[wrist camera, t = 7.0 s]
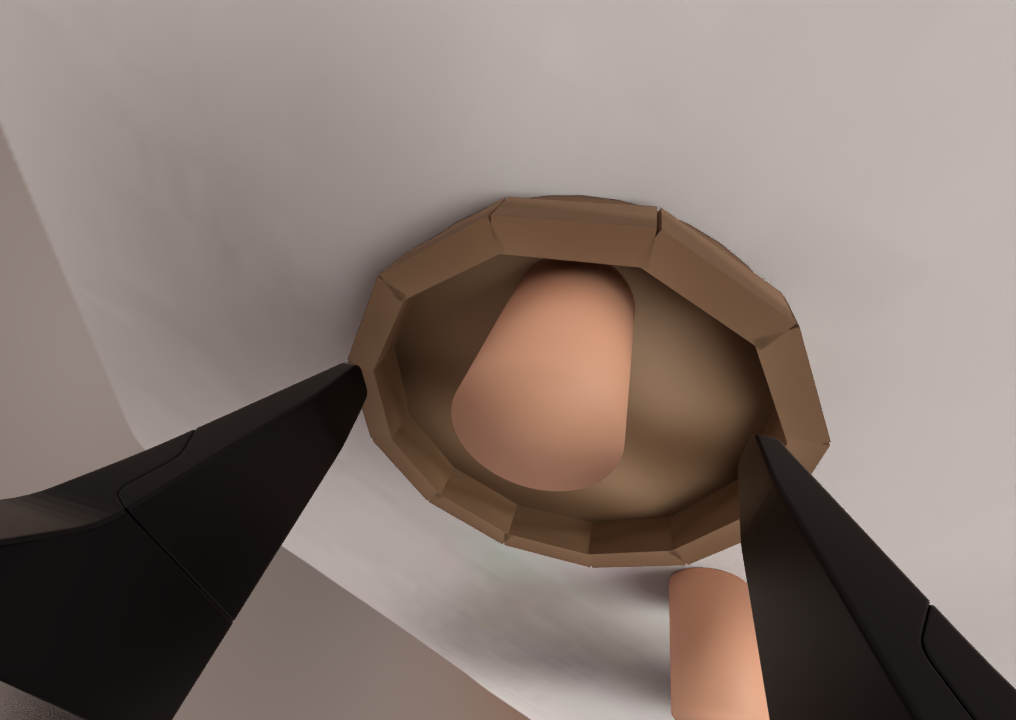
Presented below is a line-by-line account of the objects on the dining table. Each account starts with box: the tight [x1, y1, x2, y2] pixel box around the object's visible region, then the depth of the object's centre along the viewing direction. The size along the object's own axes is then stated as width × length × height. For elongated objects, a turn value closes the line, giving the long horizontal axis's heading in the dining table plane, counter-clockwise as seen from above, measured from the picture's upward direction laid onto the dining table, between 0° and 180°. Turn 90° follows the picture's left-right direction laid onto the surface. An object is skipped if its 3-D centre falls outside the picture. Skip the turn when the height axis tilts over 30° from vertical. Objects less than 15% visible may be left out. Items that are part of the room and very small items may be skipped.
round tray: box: [348, 195, 830, 568], centre depth 16 cm, size 15×15×2 cm
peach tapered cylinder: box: [669, 568, 769, 720], centre depth 19 cm, size 4×4×6 cm
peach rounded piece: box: [451, 258, 635, 491], centre depth 11 cm, size 4×4×6 cm
